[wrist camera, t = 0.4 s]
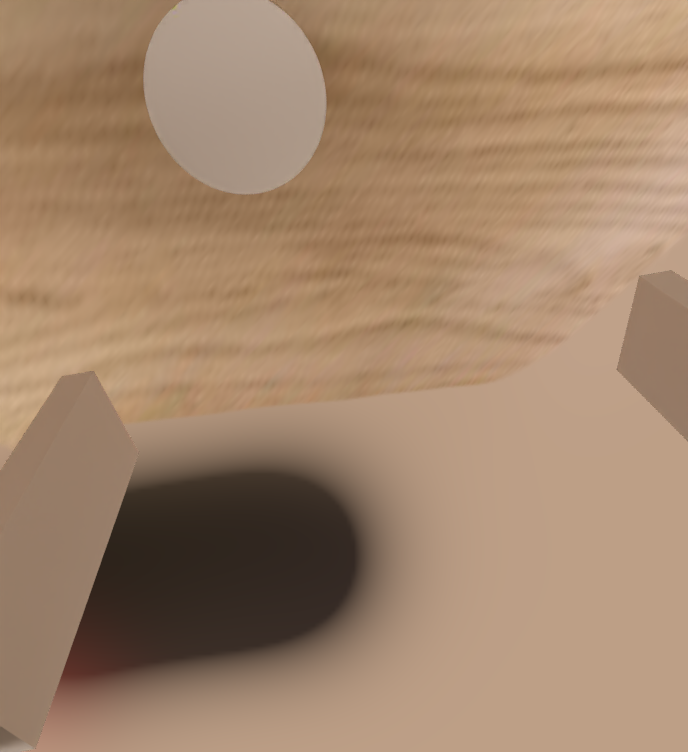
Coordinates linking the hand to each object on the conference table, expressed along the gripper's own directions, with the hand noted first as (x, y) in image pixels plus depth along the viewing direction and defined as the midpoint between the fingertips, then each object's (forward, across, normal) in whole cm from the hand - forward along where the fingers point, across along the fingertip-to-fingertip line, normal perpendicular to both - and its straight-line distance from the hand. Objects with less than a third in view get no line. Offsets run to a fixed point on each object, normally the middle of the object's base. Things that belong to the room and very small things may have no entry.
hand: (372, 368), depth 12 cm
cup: (+28, -3, +5) cm, 28 cm away
